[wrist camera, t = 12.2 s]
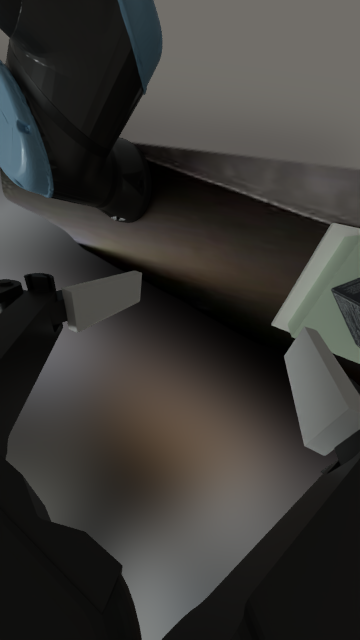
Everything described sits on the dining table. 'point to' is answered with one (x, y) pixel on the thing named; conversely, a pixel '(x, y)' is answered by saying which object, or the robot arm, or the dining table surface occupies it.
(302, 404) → the robot arm
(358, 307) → the small box
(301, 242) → the dining table surface
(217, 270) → the dining table surface
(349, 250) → the base brick
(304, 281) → the baseplate
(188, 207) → the dining table surface
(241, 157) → the dining table surface
